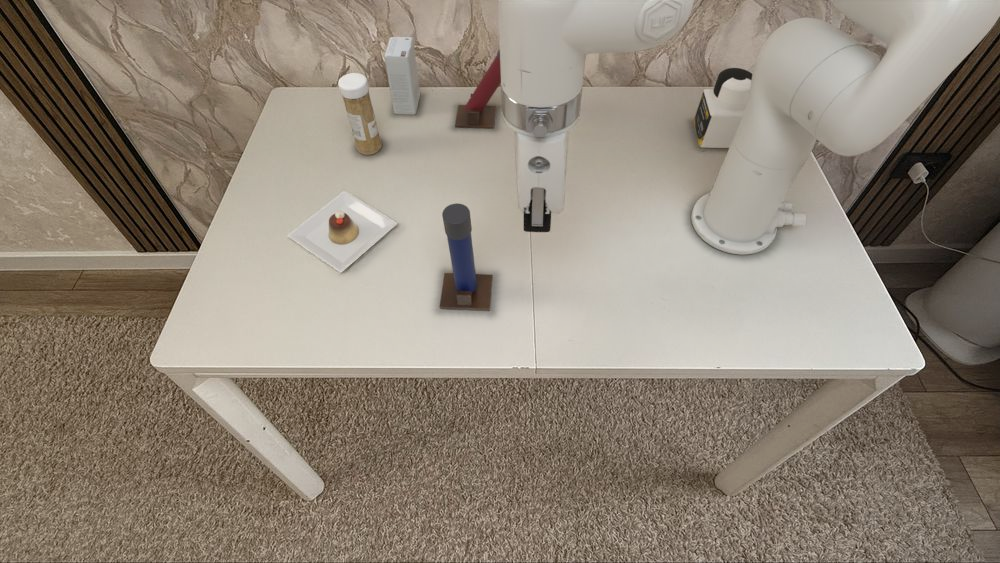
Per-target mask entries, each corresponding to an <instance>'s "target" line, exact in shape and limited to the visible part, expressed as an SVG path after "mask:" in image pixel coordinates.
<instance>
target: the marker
mask: <svg viewBox="0 0 1000 563" xmlns="http://www.w3.org/2000/svg"><path fill="white" fill-rule="evenodd" d="M441 216H442V223H443V229H444V232H445V233H444V234H445V235H446V239H447V244H448V251H449V256H450V262H451V269H452V273H453V275H454V281H455V287H456V290H458V291H471V293H473V292H474V291H475V290H476V288H477V282H476V274H477V273H476V266H475V265H476V264H475V254H474V248H473V239H472V230H473V228H472V227H473V226H472V218H471V210H470V209H469V207H468V206H466V204H464V203H459V202H458V203H452V204H449V205H447V206H446V207H444V209H443V211H442V213H441Z"/></svg>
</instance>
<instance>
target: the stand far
mask: <svg viewBox="0 0 1000 563" xmlns="http://www.w3.org/2000/svg"><path fill="white" fill-rule="evenodd" d="M472 94H473V93H470V98H471V96H472ZM465 106H466V104H458V106H457V111H456V116H455V123H454V128H458V129H492V130H493V129H495V120H496V109H497V105H486V106H485V108H484V109H483V111H482V112H481V114H480V110H468V112H467V110H466V108H465Z"/></svg>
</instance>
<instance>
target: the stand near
mask: <svg viewBox="0 0 1000 563" xmlns="http://www.w3.org/2000/svg"><path fill="white" fill-rule="evenodd" d="M493 276H494V275H493V274H487V273H483V274H482V273H476V282H477V288H476V290H475V291H474V292H473V293H471V291H458V290H456V287H455V281H454V275H453V272H444V274H443V282H442V288H441V295H440V302H439V309H440V310H455V311H457V310H459V311H479V312H480V311H481V312H490V311H491V303H492V302H491V301H492V289H493Z"/></svg>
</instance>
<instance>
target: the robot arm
mask: <svg viewBox="0 0 1000 563" xmlns="http://www.w3.org/2000/svg"><path fill="white" fill-rule="evenodd" d="M829 1H830V3H831V4H832V5H833V6H834V7H835V8H836V9H837V10H838V11H839V12H840V13H841V14H842V15H843V16H845V17H846V18H847V19H849V20H850V21H852V22H853V23H854V24H856V25H858V26H859V27H860V28H862V29H863V30H865V31H866V32H868V33H869V34H871V35H873V36H874V37H875V38H876V39H878V40H880V41H881V42H882V43H884V44H885V45H887V50H886V51H885V53H884V54H883V57H882V58H881V57H879V56H878V55H877V54H875V53H873V52H872V51H870V50H869V49H868V48H867V47H866V46H864V45H863V44H862V43H861V42H859V41H858V40H856V39H855V38H853V37H852V36H851V35H849V34H847V33H846V32H845V31H843V30H842V29H841V28H839V27H837V26H835V25H834V24H832V23H830V22H827V21H825V20H823V19H819V18H815V17H799V18H795V19H792V20H789V21H787V22H786V23H783V24H781V25H780V26H778V28H776V29H775V30H774V31H773V32H772V33H771V34H770V35H769V37H767V39H766V40H765V42H764V43H763V45H762V47H761V48H760V50H759V52H758V53H757V57H756V59H755V63H754V66H753V70H752V80H751V86H750V92H749V97H748V101H747V105H746V108H745V111H744V114H743V116H742V119H741V121H740V124H739V126H738V129H737V131H736V133H735V136H734V138H733V140H732V143H731V145H730V148H728V150H727V151H726V152H727V153H726V154H725V157H724V160H723V162H722V165H721V167H720V169H719V172H718V174H717V176H716V179H715V182H714V184H713V186H712V189H711V191H710V192H708V193H706V194H703V195H702V196H701V197H700V198H698V200H696V202H695V204H694V205H693V207H692V211H691V216H690V219H691V224H692V227H693V229H694V231H695V232H696V233H697V235H698V237H700V238H701V239H702V240H703V241H704V242H705V243H707V244H708V245H709V246H711V247H713V248H714V249H717V250H719V251H721V252H724V253H728V254H731V255H740V256H741V255H743V256H744V255H753V254H757V253H760V252H762V251H764V250H766V249H767V248H768V247H769V246H770V245H771V244H772V243H773V241H774V239H775V238H776V236H777V233H778V228H783V227H784V225H786V226H791V227H793V226H795V227H804V226H805V224H806V222H807V215H806V213H805V212H802V213H801V212H792V211H793V209H794V204H793V202H785V201H784V200H785V198H786V197H787V194H788V193H789V191H790V189H791V187H792V186H793V184H794V182H795V180H796V179H797V177H798V175H799V173H800V172H801V170H802V168H803V166H804V165H805V163H806V161H807V160H808V158H809V157H810V155H811V153H812V151H813V149H814V148H815V145H816V142H817V141H818V142H819V143H820V144H821V145H823V146H824V147H825V148H827V149H828V150H829V151H831V152H832V153H834V154H836V155H839V156H842V157H856V156H860V155H863V154H865V153H867V152H869V151H872V149H875V148H876V147H877V146H879V145H881V143H883V142H884V141H885V140H886V139H888V138H889V137H890V136H891V135H892V134H893V133H894V132H896V130H898V128H899V127H900V126H901V125H902V124H903V123H904V122H905V121H906V120H907V119H908V118H909V117H910V116H911V115H912V114H913V113H914V112H915V111H916V110H917V109H918V108H919V107H920V106H921V105H922V104H923V102H924V101H925V100H927V98H929V96H931V94H933V92H934V91H935V90H936V89H937V88H938V87H939V86H940V85H941V84H942V82H943V81H945V80H946V78H948V76H950V74H952V72H953V71H954V70H955V69H956V68H957V67H958V66H959V65H960V64H961V63H962V62H963V61H964V60H965V59H966V58H967V56H968V55H969V54H971V52H972V51H973V50H974V49H975V48H976V47H977V46H978V45H979V44H980V43H981V42H982V40H983V39H984V38H986V36H987V34H989V32H990V31H991V30H992V29H993V27H994V26H995V25H996V23H997V21H998V20H999V18H1000V0H829ZM694 4H695V0H497V10H498V13H497V14H498V40H499V41H498V42H499V49H500V69H501V83H500V93H501V94H500V96H501V98H500V99H501V116H502V120H503V121H504V123H505V125H506V126H507V127H508V128H509V129H511V130H512V131H514V159H515V160H514V161H515V162H514V164H515V180H516V181H515V182H516V192H517V193H516V194H517V205H518V209H519V211H520V212H521V213H523V232H525V233H550V232H551V223H552V215H554V214H556V215H557V214H558V215H560V214H562V212H563V211H564V210H565V196H566V195H565V193H566V182H567V181H566V180H567V166H568V153H569V131H570V130H571V129H573V128H574V127H575V126H576V124H577V123H578V121H579V119H580V116H581V106H582V98H583V97H582V96H583V87H584V77H585V67H586V57H587V55H591V54H593V55H594V54H609V53H610V54H611V53H612V54H613V53H614V54H615V53H634V52H635V53H636V52H641V51H642V52H643V51H646V50H650V49H653V48H656V47H658V46H660V45H663V44H665V43H666V42H668V41H670V40H671V39H672V38H674V36H676V35H677V34H679V32H680V31H681V30H682V29H683V27H684V26H685V25H686V23H687V22H688V20H689V18H690V16H691V14H692V12H693V11H692V10H693V7H694Z"/></svg>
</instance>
